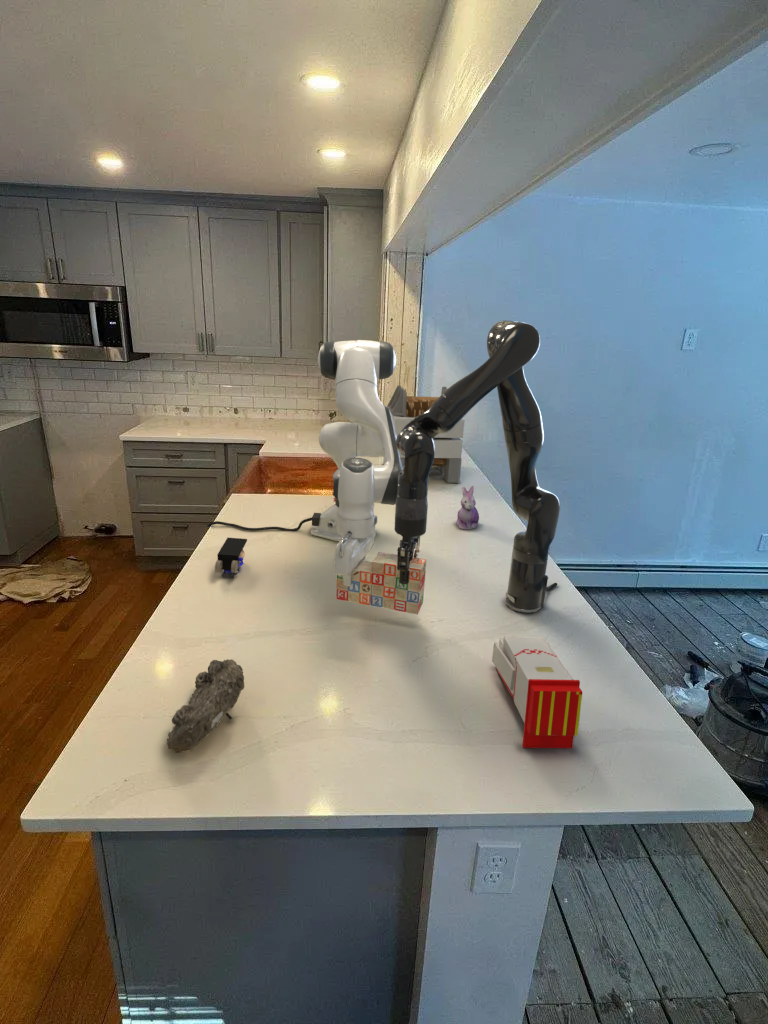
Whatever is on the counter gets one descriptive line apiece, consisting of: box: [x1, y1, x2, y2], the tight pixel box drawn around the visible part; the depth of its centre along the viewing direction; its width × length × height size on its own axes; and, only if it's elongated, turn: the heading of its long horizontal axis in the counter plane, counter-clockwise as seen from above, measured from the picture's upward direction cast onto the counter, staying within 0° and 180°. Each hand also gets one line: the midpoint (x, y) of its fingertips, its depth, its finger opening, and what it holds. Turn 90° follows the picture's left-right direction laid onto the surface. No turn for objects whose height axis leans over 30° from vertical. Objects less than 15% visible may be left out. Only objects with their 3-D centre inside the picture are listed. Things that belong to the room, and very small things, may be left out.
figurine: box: [456, 485, 480, 530], centre depth 208 cm, size 9×10×15 cm
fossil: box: [166, 658, 245, 754], centre depth 106 cm, size 22×10×15 cm
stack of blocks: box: [335, 551, 427, 615], centre depth 141 cm, size 21×6×12 cm, turn 74°
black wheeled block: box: [214, 537, 248, 578], centre depth 166 cm, size 7×8×15 cm
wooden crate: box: [382, 384, 465, 484], centre depth 268 cm, size 34×33×41 cm
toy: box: [491, 636, 583, 749], centre depth 115 cm, size 12×13×30 cm
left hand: (354, 577), depth 142 cm, fingers open, 8 cm apart
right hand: (407, 577), depth 139 cm, fingers closed on stack of blocks, 6 cm apart
